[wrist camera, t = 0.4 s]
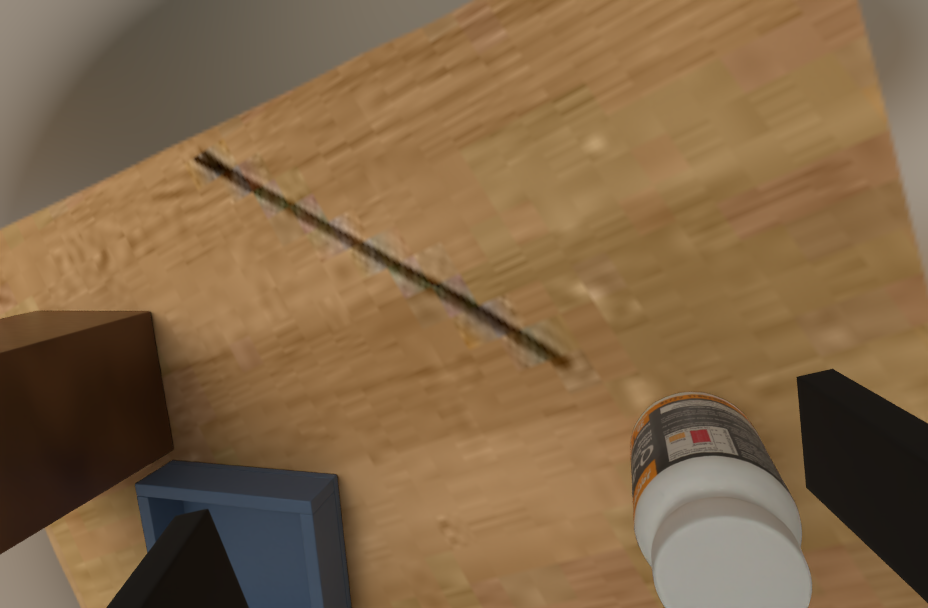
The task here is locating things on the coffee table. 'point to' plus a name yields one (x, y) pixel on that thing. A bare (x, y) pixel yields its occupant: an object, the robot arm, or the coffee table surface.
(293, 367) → the coffee table surface
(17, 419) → the stand
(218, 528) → the blue tray
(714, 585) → the pill bottle
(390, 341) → the coffee table surface
